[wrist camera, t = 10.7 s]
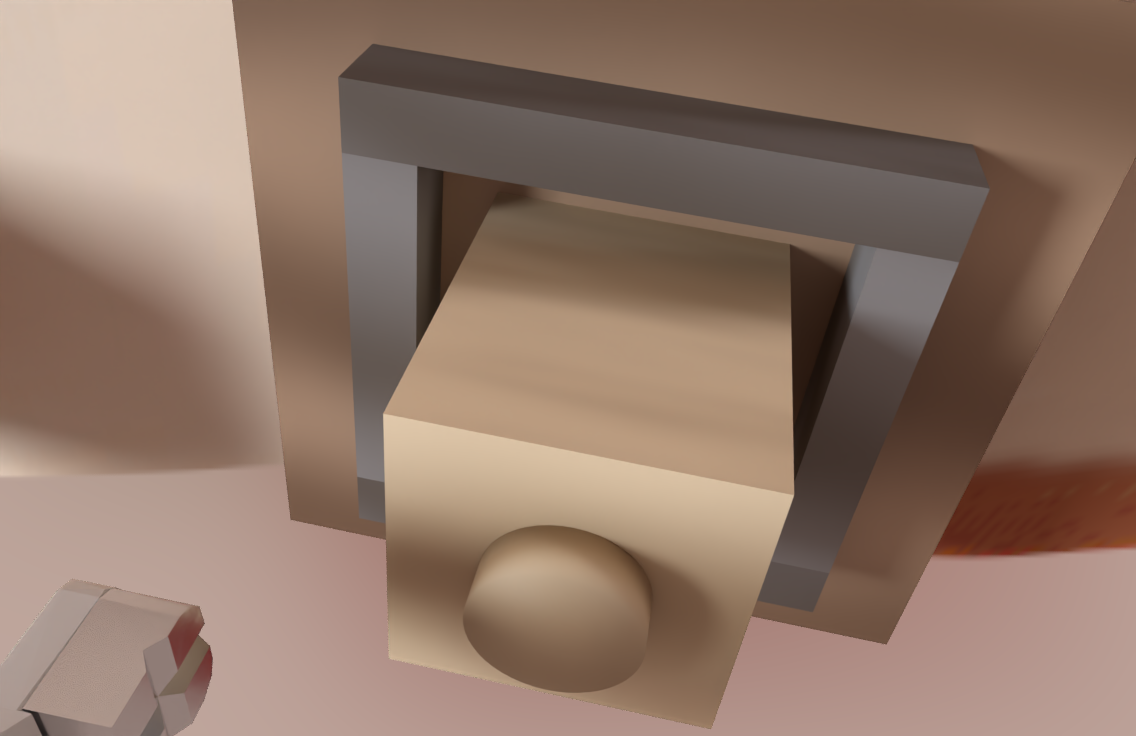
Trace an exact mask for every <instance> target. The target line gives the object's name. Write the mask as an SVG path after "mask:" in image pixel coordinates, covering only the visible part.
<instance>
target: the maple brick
mask: <svg viewBox="0 0 1136 736" xmlns="http://www.w3.org/2000/svg"><path fill="white" fill-rule="evenodd" d="M383 428H384V472H385V515H386V557H387V558H386V559H387V599H388V600H387V602H388V643H389V644H388V645H389V659H393V660H398V661H403V662H407V663H411V664H416V665H421V666H425V667H430V668H434V669H439V670H444V671H448V672H452V673H457V674H462V675H466V676H471V677H475V678H480V679H485V680H489V681H494V682H498V683H503V684H507V685H512V686H516V687H521V688H525V689H530V690H535V691H539V692H544V693H548V694H553V695H558V696H562V697H566V698H571V699H576V700H580V701H585V702H590V703H594V704H598V705H603V706H608V707H612V708H617V709H621V710H626V711H630V712H635V713H640V714H644V715H649V716H653V717H658V718H662V719H667V720H672V721H676V722H681V723H685V724H690V725H694V726H699V727H703V728H708V729H711V728H712V725H713V722H714V720H715V717H716V714H717V711H718V708H719V705H720V703H721V700H722V697H723V694H724V691H725V689H726V686H727V683H728V680H729V677H730V674H731V671H732V669H733V666H734V663H735V660H736V658H737V655H738V652H739V649H740V646H741V644H742V641H743V638H744V635H745V632H746V630H747V626H748V624H749V621H750V618H751V615H752V613H753V610H754V607H755V604H756V601H757V599H758V596H759V593H760V590H761V587H762V585H763V582H764V579H765V576H766V573H767V570H768V568H769V565H770V562H771V559H772V556H773V554H774V551H775V548H776V545H777V542H778V540H779V537H780V534H781V531H782V528H783V525H784V523H785V520H786V517H787V514H788V511H789V509H790V506H791V503H792V500H793V497H794V455H793V397H792V340H791V282H790V244H786V243H781V242H775V241H769V240H764V239H758V238H753V237H747V236H741V235H736V234H730V233H724V232H719V231H713V230H708V229H702V228H696V227H691V226H685V225H680V224H674V223H668V222H663V221H657V220H652V219H646V218H640V217H635V216H629V215H624V214H618V213H612V212H607V211H601V210H596V209H590V208H584V207H579V206H573V205H568V204H562V203H556V202H551V201H545V200H540V199H534V198H528V197H523V196H517V195H512V194H506V193H500V192H498V194H497V196H496V198H495V199H494V201H493V203H492V205H491V207H490V209H489V211H488V213H487V215H486V217H485V219H484V221H483V223H482V224H481V226H480V228H479V230H478V232H477V234H476V236H475V238H474V240H473V242H472V244H471V246H470V248H469V249H468V251H467V253H466V255H465V257H464V259H463V261H462V263H461V265H460V267H459V269H458V271H457V273H456V274H455V276H454V278H453V280H452V282H451V284H450V286H449V288H448V290H447V292H446V294H445V296H444V298H443V299H442V301H441V303H440V305H439V307H438V309H437V311H436V313H435V315H434V317H433V319H432V321H431V323H430V324H429V326H428V328H427V330H426V332H425V334H424V336H423V338H422V340H421V342H420V344H419V346H418V348H417V350H416V351H415V353H414V355H413V357H412V359H411V361H410V363H409V365H408V367H407V369H406V371H405V373H404V375H403V376H402V378H401V380H400V382H399V384H398V386H397V388H396V390H395V392H394V394H393V396H392V398H391V400H390V401H389V403H388V405H387V407H386V409H385V411H384V413H383Z"/></svg>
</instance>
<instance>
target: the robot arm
mask: <svg viewBox="0 0 1136 736" xmlns="http://www.w3.org/2000/svg"><path fill="white" fill-rule="evenodd" d="M204 624H205V623H204V619H203V616H202V613H201V610H200V607H199V606H195V605H190V604H186V603H181V602H177V601H172V600H167V599H162V598H158V597H153V596H148V595H143V594H139V593H134V592H130V591H125V590H121V589H118V588H116V587H110V586H105V585H101V584H96V583H91V582H86V581H81V580H75V579H72V580H70V581H69V582H68V583H66V584H65V585H64V586H62V587H61V588H60V589H58V590H57V591H56V592H55V593H54V595H53V596H52V597H51V599H50V600H49V601H48V603H47V604H46V605H45V607H44V608H43V609H42V611H41V612H40V613H39V615H38V616H37V617H36V619H35V620H34V621H33V623H32V624H31V625H30V627H29V628H28V629H27V631H26V632H25V633H24V634H23V636H22V637H21V638H20V640H19V641H18V642H17V644H16V645H15V646H14V648H13V649H12V651H11V652H10V653H9V654H8V656H7V657H6V658H5V660H4V661H3V662H2V664H1V665H0V736H174V735H175V734H177V733H178V732H180V731H181V730H183V729H184V728H186V727H187V726H189V725H190V724H192V723H193V721H194V719H195V717H196V715H197V713H198V711H199V709H200V707H201V705H202V703H203V702H204V699H205V696H206V693H207V689H208V686H209V683H210V680H211V676H212V662H213V657H212V653H211V648H210V646H209V645H208V644H207V643H206V642H205V641H204V640H203V639H202V638H201V637H200V636H199V635H198V634H199V633H200V631H201V629H202V627H203V626H204Z"/></svg>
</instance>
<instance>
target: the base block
mask: <svg viewBox="0 0 1136 736" xmlns="http://www.w3.org/2000/svg"><path fill="white" fill-rule="evenodd" d="M232 3H233V12H234V21H235V30H236V38H237V47H238V56H239V65H240V74H241V83H242V92H243V101H244V109H245V118H246V127H247V136H248V145H249V154H250V163H251V172H252V181H253V189H254V198H255V207H256V216H257V225H258V234H259V243H260V252H261V260H262V269H263V278H264V287H265V296H266V305H267V314H268V323H269V331H270V340H271V349H272V358H273V367H274V376H275V385H276V394H277V402H278V411H279V420H280V429H281V438H282V447H283V456H284V465H285V473H286V482H287V490H288V500H289V508H290V518H291V520H295V521H300V522H304V523H309V524H314V525H318V526H323V527H329V528H333V529H338V530H343V531H347V532H352V533H357V534H361V535H366V536H371V537H376V538H381V539H385V540H386V515H385V472H384V428H383V413H384V411H385V409H386V407H387V405H388V403H389V401H390V400H391V398H392V396H393V394H394V392H395V390H396V388H397V386H398V384H399V382H400V380H401V378H402V376H403V375H404V373H405V371H406V369H407V367H408V365H409V363H410V361H411V359H412V357H413V355H414V353H415V351H416V350H417V348H418V346H419V344H420V342H421V340H422V338H423V336H424V334H425V332H426V330H427V328H428V326H429V324H430V323H431V321H432V319H433V317H434V315H435V313H436V311H437V309H438V307H439V305H440V303H441V301H442V299H443V298H444V296H445V294H446V292H447V290H448V288H449V286H450V284H451V282H452V280H453V278H454V276H455V274H456V273H457V271H458V269H459V267H460V265H461V263H462V261H463V259H464V257H465V255H466V253H467V251H468V249H469V248H470V246H471V244H472V242H473V240H474V238H475V236H476V234H477V232H478V230H479V228H480V226H481V224H482V223H483V221H484V219H485V217H486V215H487V213H488V211H489V209H490V207H491V205H492V203H493V201H494V199H495V198H496V196H497V194H498V192H500V193H506V194H512V195H517V196H523V197H528V198H534V199H540V200H545V201H551V202H556V203H562V204H568V205H573V206H579V207H584V208H590V209H596V210H601V211H607V212H612V213H618V214H624V215H629V216H635V217H640V218H646V219H652V220H657V221H663V222H668V223H674V224H680V225H685V226H691V227H696V228H702V229H708V230H713V231H719V232H724V233H730V234H736V235H741V236H747V237H753V238H758V239H764V240H769V241H775V242H781V243H786V244H790V282H791V340H792V397H793V455H794V497H793V500H792V503H791V506H790V509H789V511H788V514H787V517H786V520H785V523H784V525H783V528H782V531H781V534H780V537H779V540H778V542H777V545H776V548H775V551H774V554H773V556H772V559H771V562H770V565H769V568H768V570H767V573H766V576H765V579H764V582H763V585H762V587H761V590H760V593H759V596H758V599H757V601H756V604H755V607H754V610H753V613H752V615H751V616H754V617H758V618H763V619H768V620H773V621H777V622H782V623H787V624H792V625H797V626H801V627H806V628H811V629H816V630H820V631H826V632H830V633H834V634H840V635H844V636H849V637H854V638H859V639H863V640H868V641H873V642H877V643H882V644H887V642H888V640H889V639H890V637H891V635H892V633H893V631H894V629H895V627H896V625H897V623H898V621H899V619H900V617H901V615H902V613H903V611H904V609H905V607H906V605H907V603H908V601H909V599H910V597H911V596H912V593H913V592H914V589H915V587H916V586H917V584H918V582H919V580H920V578H921V576H922V574H923V572H924V570H925V568H926V566H927V564H928V562H929V560H930V558H931V556H932V554H933V553H934V551H935V549H936V547H937V545H938V543H939V541H940V539H941V537H942V535H943V533H944V531H945V529H946V527H947V525H948V523H949V521H950V519H951V517H952V515H953V513H954V511H955V510H956V508H957V506H958V504H959V502H960V500H961V498H962V496H963V494H964V492H965V490H966V488H967V486H968V484H969V482H970V480H971V478H972V476H973V474H974V472H975V470H976V468H977V467H978V465H979V463H980V461H981V459H982V457H983V455H984V453H985V451H986V449H987V447H988V445H989V443H990V441H991V439H992V437H993V435H994V433H995V431H996V429H997V427H998V425H999V424H1000V422H1001V420H1002V418H1003V416H1004V414H1005V412H1006V410H1007V408H1008V406H1009V404H1010V402H1011V400H1012V398H1013V396H1014V394H1015V392H1016V390H1017V388H1018V386H1019V384H1020V382H1021V380H1022V379H1023V377H1024V375H1025V373H1026V371H1027V369H1028V367H1029V365H1030V363H1031V361H1032V359H1033V357H1034V355H1035V353H1036V351H1037V349H1038V347H1039V345H1040V343H1041V341H1042V339H1043V337H1044V336H1045V334H1046V332H1047V330H1048V328H1049V326H1050V324H1051V322H1052V320H1053V318H1054V316H1055V314H1056V312H1057V310H1058V308H1059V306H1060V304H1061V302H1062V300H1063V298H1064V296H1065V294H1066V293H1067V291H1068V289H1069V287H1070V285H1071V283H1072V281H1073V279H1074V277H1075V275H1076V273H1077V271H1078V269H1079V267H1080V265H1081V263H1082V261H1083V259H1084V257H1085V255H1086V253H1087V251H1088V250H1089V248H1090V246H1091V244H1092V242H1093V240H1094V238H1095V236H1096V234H1097V232H1098V230H1099V228H1100V226H1101V224H1102V222H1103V220H1104V218H1105V216H1106V214H1107V212H1108V210H1109V208H1110V207H1111V205H1112V203H1113V201H1114V199H1115V197H1116V195H1117V193H1118V191H1119V189H1120V187H1121V185H1122V183H1123V181H1124V179H1125V177H1126V175H1127V173H1128V171H1129V169H1130V167H1131V165H1132V164H1133V162H1134V160H1135V158H1136V0H232Z"/></svg>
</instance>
